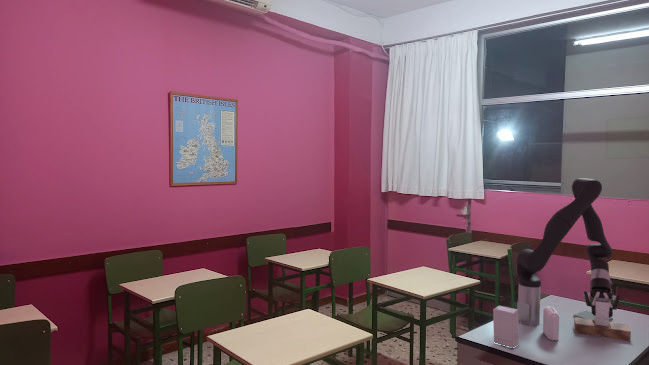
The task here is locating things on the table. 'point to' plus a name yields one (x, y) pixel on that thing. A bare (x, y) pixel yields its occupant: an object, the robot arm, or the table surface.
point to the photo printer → (551, 323)
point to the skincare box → (506, 326)
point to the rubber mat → (587, 315)
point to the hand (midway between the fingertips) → (602, 315)
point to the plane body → (602, 329)
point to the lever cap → (601, 312)
